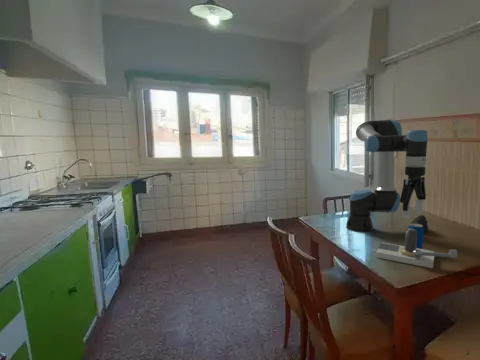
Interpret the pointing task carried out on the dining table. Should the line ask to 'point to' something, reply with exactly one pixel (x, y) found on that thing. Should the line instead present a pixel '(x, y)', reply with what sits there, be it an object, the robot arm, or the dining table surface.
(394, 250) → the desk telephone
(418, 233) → the beverage can
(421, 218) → the rock
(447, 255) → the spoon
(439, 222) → the dining table surface
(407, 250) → the grey post on base
